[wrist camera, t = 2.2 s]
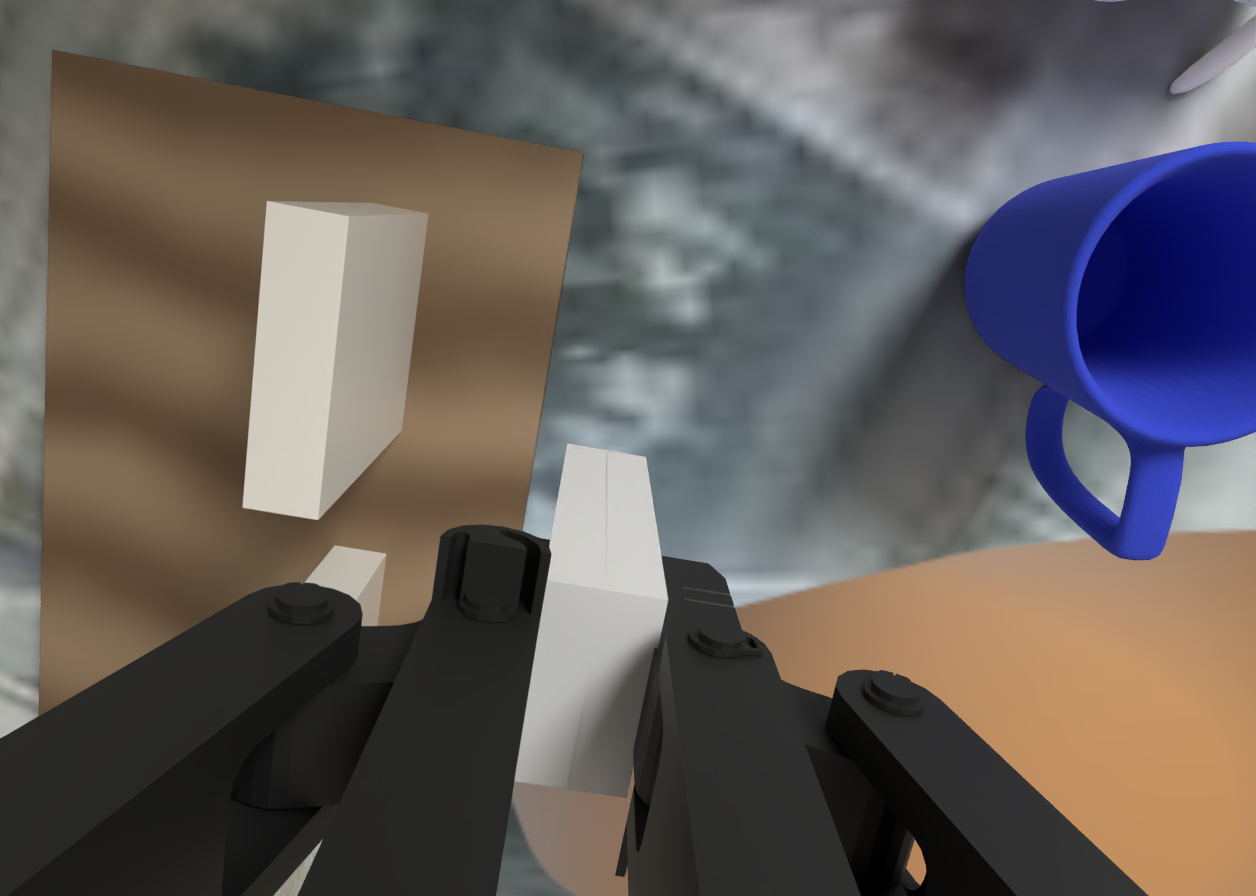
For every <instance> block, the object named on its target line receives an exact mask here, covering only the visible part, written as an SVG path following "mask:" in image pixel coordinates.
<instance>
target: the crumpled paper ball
mask: <svg viewBox="0 0 1256 896" xmlns="http://www.w3.org/2000/svg"><path fill="white" fill-rule="evenodd" d="M1094 1H1106V2H1115V1H1125V0H1094ZM1233 1H1236V2H1239V3H1242V4H1245V5H1249V6H1256V0H1233ZM1255 47H1256V15H1255V16H1254V17H1253V18H1251V19H1250V20H1249V21H1248V22H1246V23H1245V24H1244V25H1243V26H1241V27H1240V28H1239V29H1237V30H1236V31H1235V32H1234V33H1232V34H1231V35H1230V36H1229V37H1227V38H1226V39H1225V40H1223V41H1222V42H1221V43H1220V44H1218V45H1217V46H1216V47H1214V48H1213V49H1212V50H1211V51H1209V52H1208V53H1207V54H1206V55H1204V56H1203V57H1202V58H1201V59H1199V60H1198V61H1197V62H1196V63H1194V64H1193V65H1192V66H1191V67H1189V68H1188V69H1187V70H1186V71H1184V72H1183V73H1182V74H1181V75H1180V76H1179V77H1178V78H1177V79H1176V80H1175V81H1174V82H1173V83H1172V84H1171V86H1170V89H1169V90H1170V92H1171V93H1172V94H1176V93H1183V92H1188V91H1190V90H1192V89H1194V88H1196V87H1198V86H1200V85H1202V84H1204V83H1205V82H1207V81H1209V80H1210V79H1212V78H1213V77H1215V76H1216V75H1218V74H1219V73H1221V72H1222V71H1224V70H1226V69H1227V68H1229V67H1230V66H1232V65H1233V64H1235V63H1236V62H1237V61H1239V60H1240V59H1241V58H1242V57H1244V56H1245V55H1246V54H1247V53H1248V52H1250V51H1251V50H1252V49H1253V48H1255Z"/></svg>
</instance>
